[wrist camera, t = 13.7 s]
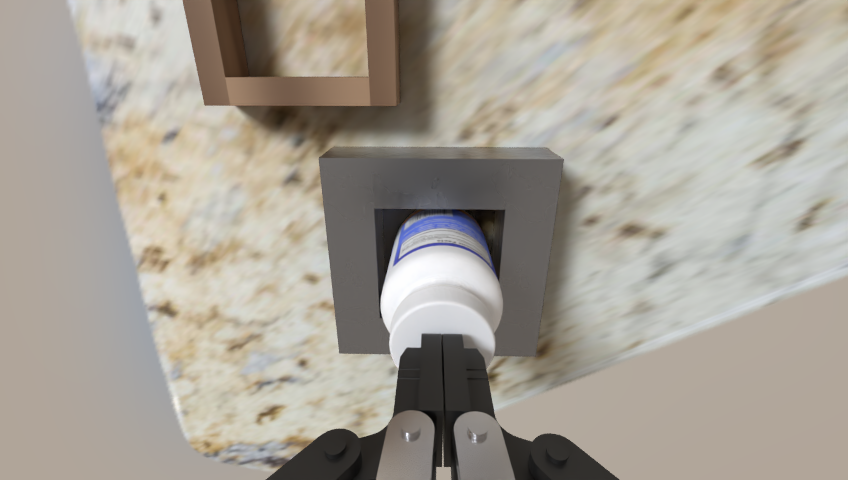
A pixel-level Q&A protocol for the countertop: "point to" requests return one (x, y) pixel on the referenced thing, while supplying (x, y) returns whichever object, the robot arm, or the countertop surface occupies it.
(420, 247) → the pill bottle
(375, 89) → the walnut stand
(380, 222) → the steel block
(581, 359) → the countertop surface
